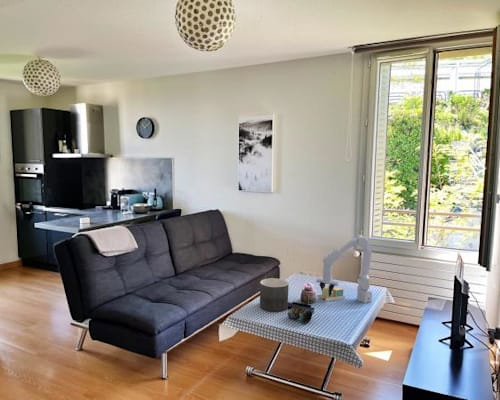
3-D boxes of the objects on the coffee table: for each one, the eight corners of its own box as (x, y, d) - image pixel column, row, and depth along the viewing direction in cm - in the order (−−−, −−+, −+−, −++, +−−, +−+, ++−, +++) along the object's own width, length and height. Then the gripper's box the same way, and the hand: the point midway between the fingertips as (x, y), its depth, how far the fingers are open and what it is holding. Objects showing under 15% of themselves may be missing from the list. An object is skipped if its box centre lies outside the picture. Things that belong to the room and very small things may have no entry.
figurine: (306, 316, 213) (284, 306, 223) (306, 328, 216) (285, 318, 226) (314, 308, 219) (293, 299, 229) (315, 320, 222) (293, 310, 232)
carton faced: (335, 299, 255) (336, 290, 254) (332, 297, 258) (332, 288, 258) (343, 297, 257) (343, 289, 257) (339, 296, 261) (339, 287, 260)
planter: (286, 313, 232) (286, 288, 231) (257, 310, 236) (257, 285, 234) (289, 303, 250) (289, 279, 248) (262, 300, 253) (262, 277, 252)
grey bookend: (344, 300, 256) (344, 295, 256) (326, 303, 250) (326, 298, 250) (333, 294, 267) (333, 290, 267) (315, 297, 261) (315, 292, 261)
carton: (327, 298, 252) (328, 289, 251) (322, 297, 254) (322, 288, 253) (331, 296, 257) (331, 287, 256) (325, 295, 259) (325, 286, 258)
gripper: (340, 274, 253) (339, 294, 255) (319, 271, 261) (318, 290, 262) (336, 277, 247) (335, 298, 249) (315, 273, 255) (314, 293, 257)
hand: (326, 294), depth 255 cm, fingers closed on carton, 4 cm apart
